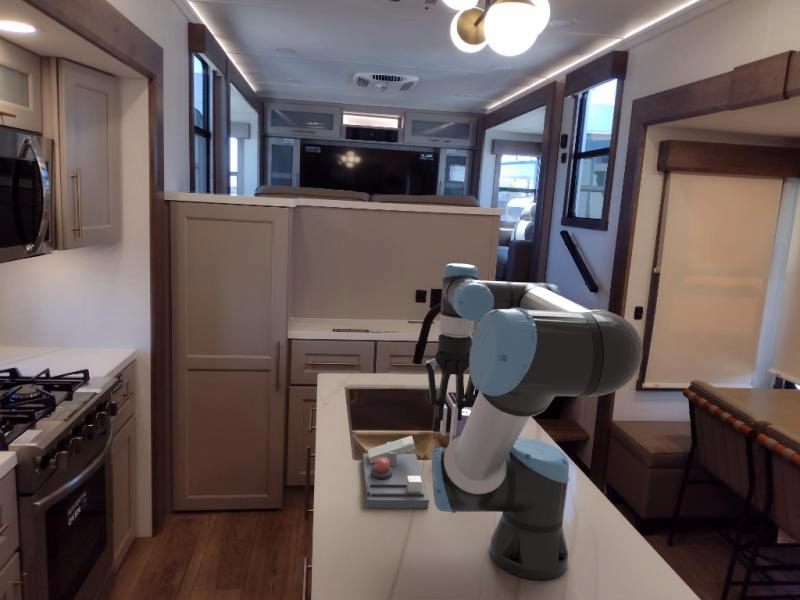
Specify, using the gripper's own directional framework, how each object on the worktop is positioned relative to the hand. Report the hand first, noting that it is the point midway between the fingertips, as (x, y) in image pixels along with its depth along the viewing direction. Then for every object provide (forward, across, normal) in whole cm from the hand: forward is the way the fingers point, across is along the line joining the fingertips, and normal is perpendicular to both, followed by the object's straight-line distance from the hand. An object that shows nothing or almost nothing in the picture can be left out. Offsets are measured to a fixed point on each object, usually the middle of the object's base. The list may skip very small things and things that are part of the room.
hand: (447, 433), depth 133 cm
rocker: (+11, +11, -16) cm, 23 cm away
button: (+13, +14, -8) cm, 21 cm away
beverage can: (+17, -8, -18) cm, 26 cm away
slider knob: (+14, +7, 0) cm, 16 cm away
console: (+16, +11, -8) cm, 21 cm away
